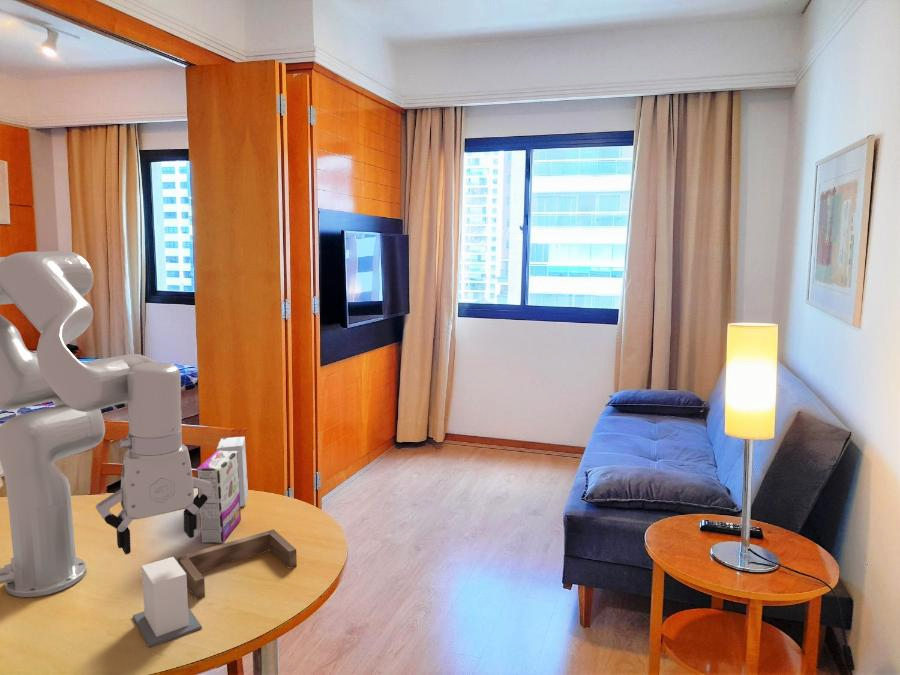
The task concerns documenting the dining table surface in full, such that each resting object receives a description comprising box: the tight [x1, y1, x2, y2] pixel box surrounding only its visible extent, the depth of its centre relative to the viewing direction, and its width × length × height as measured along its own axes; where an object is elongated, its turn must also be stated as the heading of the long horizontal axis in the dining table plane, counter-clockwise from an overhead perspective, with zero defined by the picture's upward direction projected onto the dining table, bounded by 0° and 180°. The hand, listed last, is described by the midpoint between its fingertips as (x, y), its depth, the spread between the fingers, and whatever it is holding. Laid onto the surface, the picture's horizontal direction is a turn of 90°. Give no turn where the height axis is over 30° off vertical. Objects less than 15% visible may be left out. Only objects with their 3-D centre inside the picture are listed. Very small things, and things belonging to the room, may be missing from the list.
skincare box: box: [216, 436, 249, 508], centre depth 153 cm, size 8×6×15 cm
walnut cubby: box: [176, 529, 298, 600], centre depth 122 cm, size 19×10×4 cm, turn 129°
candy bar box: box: [196, 450, 242, 544], centre depth 137 cm, size 11×5×16 cm, turn 179°
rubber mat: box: [132, 606, 203, 648], centre depth 106 cm, size 8×10×1 cm
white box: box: [141, 556, 189, 637], centre depth 105 cm, size 5×7×9 cm
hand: (158, 542), depth 104 cm, fingers open, 9 cm apart
